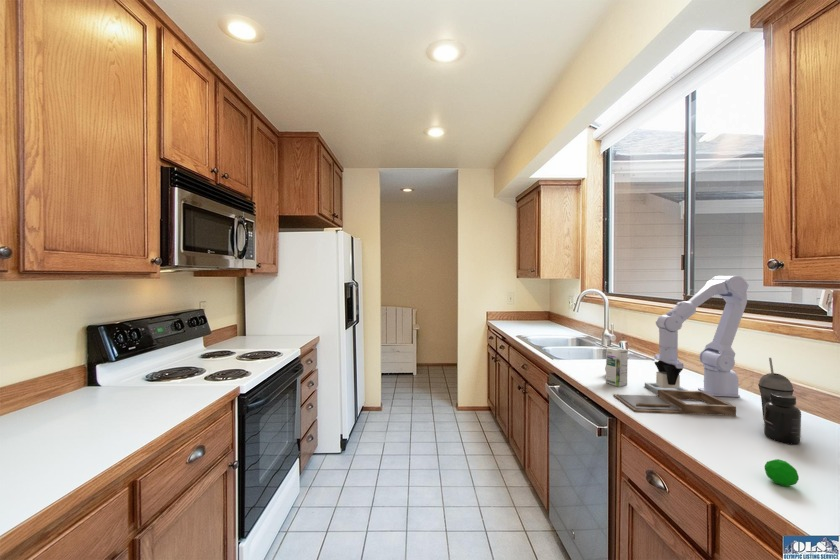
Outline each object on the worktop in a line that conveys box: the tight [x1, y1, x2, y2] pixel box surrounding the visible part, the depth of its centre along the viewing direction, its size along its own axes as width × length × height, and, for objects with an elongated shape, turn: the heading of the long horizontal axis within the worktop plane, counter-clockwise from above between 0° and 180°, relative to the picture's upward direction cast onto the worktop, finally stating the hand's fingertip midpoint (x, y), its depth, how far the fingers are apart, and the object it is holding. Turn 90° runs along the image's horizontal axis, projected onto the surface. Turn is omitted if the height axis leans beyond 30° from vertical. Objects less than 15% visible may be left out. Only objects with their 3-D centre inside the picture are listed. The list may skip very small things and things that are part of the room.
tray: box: [644, 382, 690, 395], centre depth 132 cm, size 11×11×2 cm
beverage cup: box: [758, 357, 794, 421], centre depth 101 cm, size 7×7×20 cm
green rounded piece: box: [764, 458, 799, 487], centre depth 74 cm, size 5×5×5 cm
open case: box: [613, 390, 737, 417], centre depth 119 cm, size 30×15×3 cm, turn 85°
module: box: [655, 371, 681, 389], centre depth 132 cm, size 6×4×5 cm, turn 85°
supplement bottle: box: [763, 392, 802, 446], centre depth 94 cm, size 7×7×12 cm
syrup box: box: [605, 346, 629, 387], centre depth 142 cm, size 6×6×14 cm
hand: (667, 382), depth 132 cm, fingers closed on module, 4 cm apart
